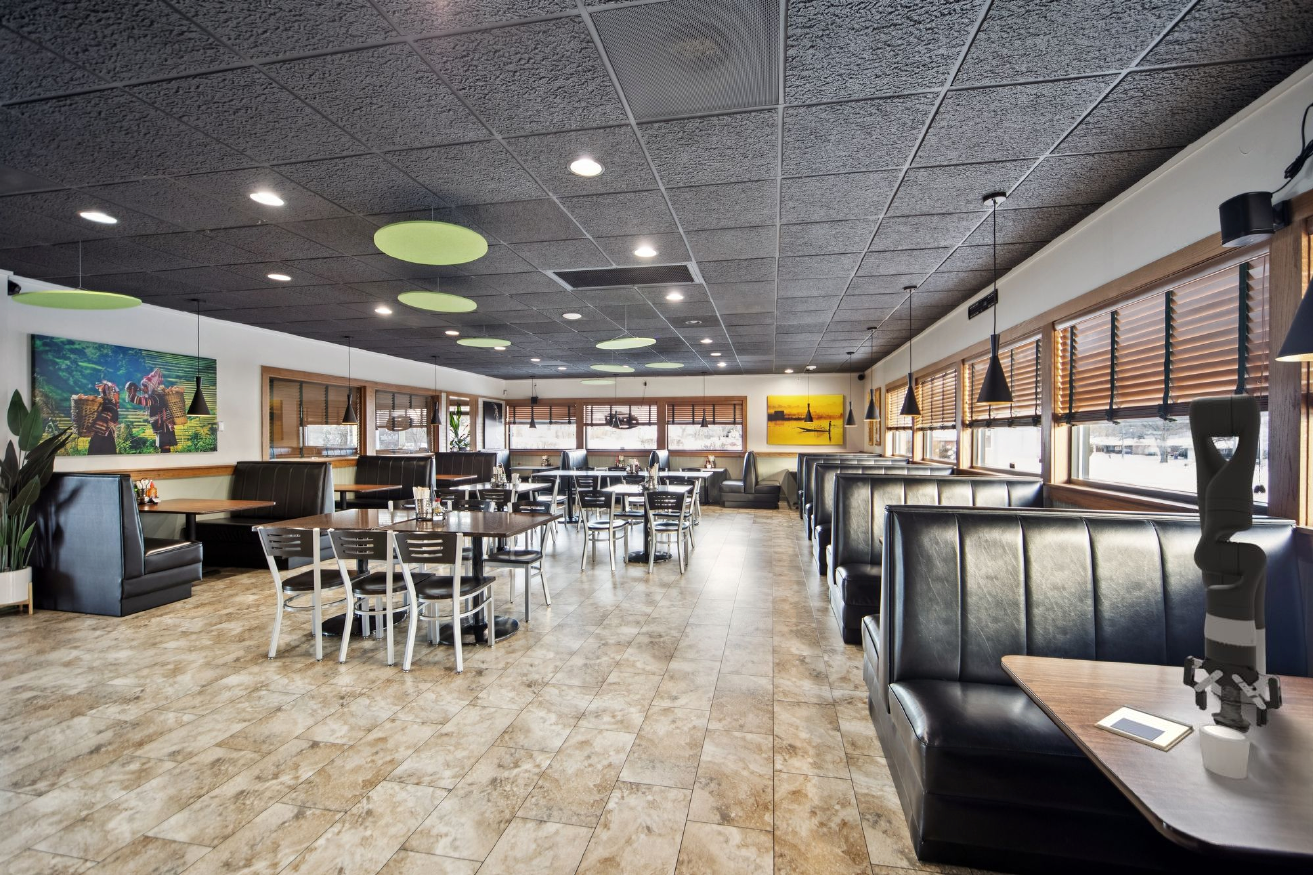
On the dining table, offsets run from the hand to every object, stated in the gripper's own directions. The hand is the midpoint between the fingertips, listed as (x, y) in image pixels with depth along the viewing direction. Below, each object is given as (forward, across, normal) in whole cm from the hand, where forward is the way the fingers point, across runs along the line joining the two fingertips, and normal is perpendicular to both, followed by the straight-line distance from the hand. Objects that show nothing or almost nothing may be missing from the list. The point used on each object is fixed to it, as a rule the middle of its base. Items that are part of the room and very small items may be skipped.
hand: (1230, 717), depth 118 cm
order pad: (+4, +11, +11) cm, 16 cm away
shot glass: (+4, -3, +18) cm, 18 cm away
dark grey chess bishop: (+4, 0, 0) cm, 4 cm away
